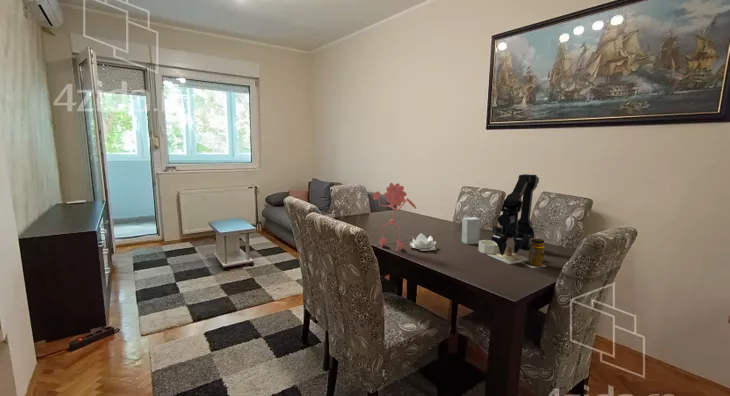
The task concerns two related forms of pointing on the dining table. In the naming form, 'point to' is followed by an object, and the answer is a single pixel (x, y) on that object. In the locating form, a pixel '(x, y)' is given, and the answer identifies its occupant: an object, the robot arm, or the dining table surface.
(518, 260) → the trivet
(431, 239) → the lotus flower
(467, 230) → the skincare box
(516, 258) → the lid
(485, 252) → the bowl
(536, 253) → the condiment
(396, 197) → the figurine
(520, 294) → the dining table surface
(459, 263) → the dining table surface
